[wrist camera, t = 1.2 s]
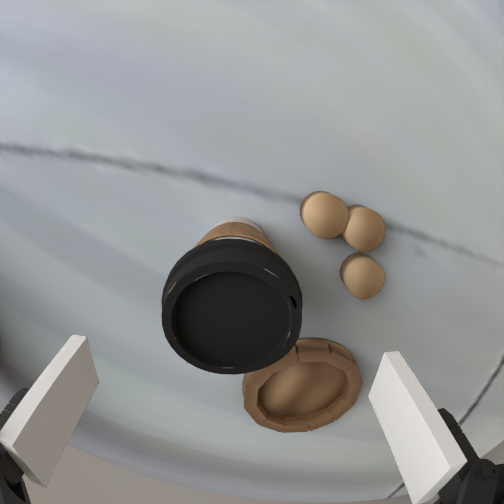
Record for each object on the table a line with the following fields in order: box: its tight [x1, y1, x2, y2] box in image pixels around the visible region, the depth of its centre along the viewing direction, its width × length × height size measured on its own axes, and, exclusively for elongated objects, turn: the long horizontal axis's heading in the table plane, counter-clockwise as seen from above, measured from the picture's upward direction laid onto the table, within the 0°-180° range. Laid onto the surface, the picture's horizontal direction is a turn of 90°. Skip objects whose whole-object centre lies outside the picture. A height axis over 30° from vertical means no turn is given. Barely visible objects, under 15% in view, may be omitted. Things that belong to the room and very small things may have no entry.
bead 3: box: [340, 253, 385, 299], centre depth 30 cm, size 4×4×3 cm
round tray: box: [243, 338, 362, 433], centre depth 35 cm, size 15×15×2 cm
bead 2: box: [340, 205, 385, 252], centre depth 28 cm, size 4×4×3 cm
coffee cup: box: [162, 217, 302, 374], centre depth 23 cm, size 8×8×15 cm
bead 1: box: [300, 191, 349, 239], centre depth 28 cm, size 4×4×3 cm
